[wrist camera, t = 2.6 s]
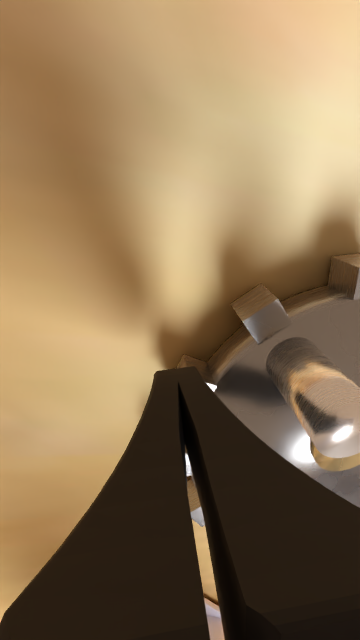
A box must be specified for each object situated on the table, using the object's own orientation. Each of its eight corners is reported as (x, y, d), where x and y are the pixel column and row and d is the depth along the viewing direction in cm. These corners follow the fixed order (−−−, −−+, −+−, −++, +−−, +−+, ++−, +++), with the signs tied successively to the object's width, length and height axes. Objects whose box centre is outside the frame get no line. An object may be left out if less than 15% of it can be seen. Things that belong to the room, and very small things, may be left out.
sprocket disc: (502, 426, 17) (636, 517, 12) (258, 549, 19) (293, 663, 15) (445, 159, 10) (691, 144, 6) (85, 400, 13) (54, 524, 8)
